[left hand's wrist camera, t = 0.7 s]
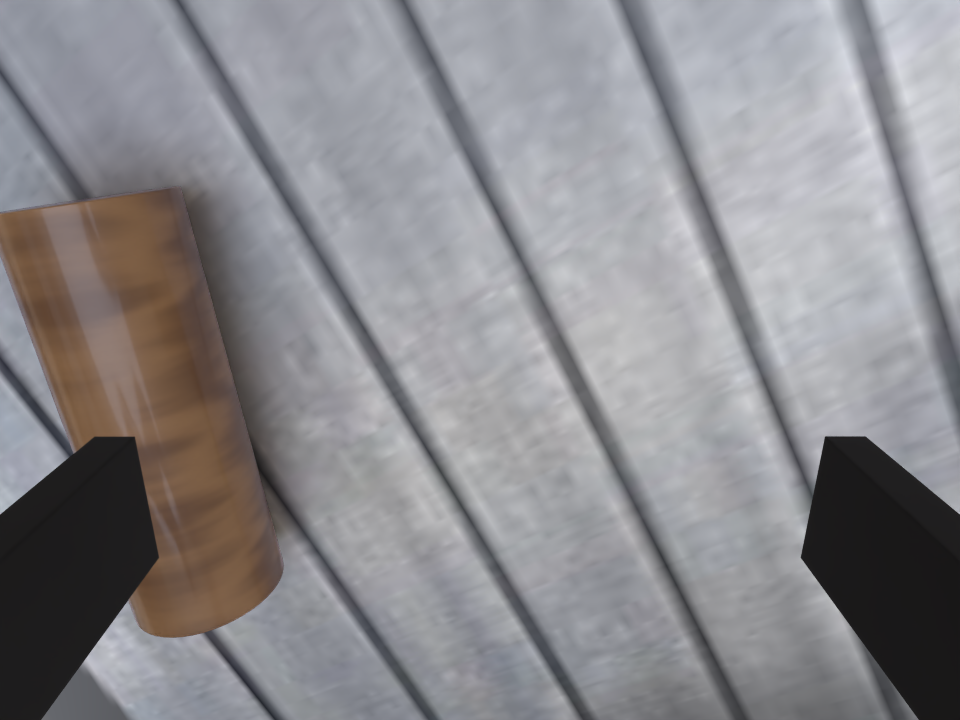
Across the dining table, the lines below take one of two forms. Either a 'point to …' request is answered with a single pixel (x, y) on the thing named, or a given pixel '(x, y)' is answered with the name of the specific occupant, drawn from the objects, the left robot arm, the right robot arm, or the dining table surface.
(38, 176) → the dining table surface
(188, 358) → the rod
